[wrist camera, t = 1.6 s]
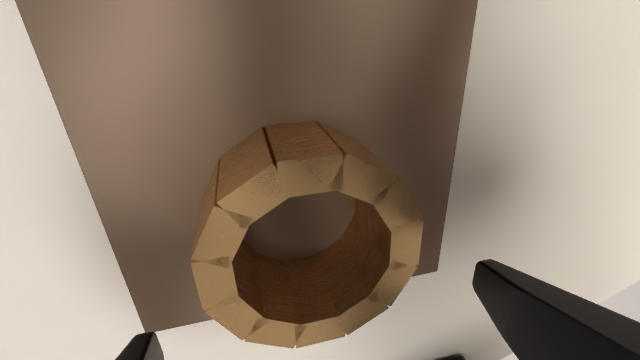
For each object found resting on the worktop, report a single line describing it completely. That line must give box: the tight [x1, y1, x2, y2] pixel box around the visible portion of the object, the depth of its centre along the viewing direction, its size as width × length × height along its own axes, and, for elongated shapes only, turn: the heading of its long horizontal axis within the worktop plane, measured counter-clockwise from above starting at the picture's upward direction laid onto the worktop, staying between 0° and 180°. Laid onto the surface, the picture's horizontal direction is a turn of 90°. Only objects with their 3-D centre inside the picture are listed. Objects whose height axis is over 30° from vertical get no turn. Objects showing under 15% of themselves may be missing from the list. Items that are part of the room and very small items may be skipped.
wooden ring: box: [190, 120, 423, 348], centre depth 12 cm, size 7×7×4 cm
